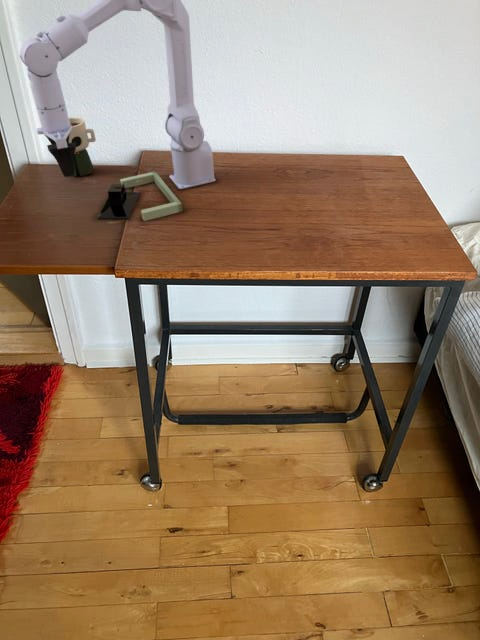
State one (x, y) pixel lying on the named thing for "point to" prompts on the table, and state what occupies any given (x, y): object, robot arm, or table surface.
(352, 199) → the table surface
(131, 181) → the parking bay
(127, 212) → the build plate
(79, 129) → the character mug
